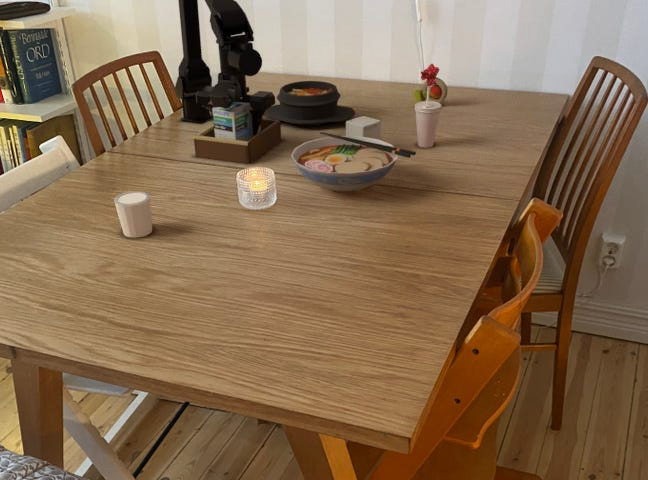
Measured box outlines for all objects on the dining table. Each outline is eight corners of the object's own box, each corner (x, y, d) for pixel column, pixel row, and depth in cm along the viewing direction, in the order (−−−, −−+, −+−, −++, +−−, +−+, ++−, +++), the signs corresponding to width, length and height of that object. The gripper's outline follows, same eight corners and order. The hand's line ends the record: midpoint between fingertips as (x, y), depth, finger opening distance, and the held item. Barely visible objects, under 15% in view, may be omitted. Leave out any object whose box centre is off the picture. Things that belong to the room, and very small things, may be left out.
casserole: (360, 111, 203) (361, 80, 199) (348, 133, 189) (348, 99, 184) (273, 107, 209) (272, 77, 204) (255, 128, 194) (252, 96, 189)
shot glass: (125, 242, 141) (119, 207, 137) (116, 228, 146) (109, 195, 142) (160, 233, 143) (154, 200, 139) (149, 221, 148) (143, 188, 144)
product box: (362, 157, 174) (363, 126, 170) (344, 151, 178) (344, 120, 174) (380, 150, 177) (381, 120, 173) (362, 144, 181) (363, 115, 177)
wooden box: (195, 156, 178) (193, 136, 175) (230, 134, 191) (228, 114, 188) (249, 163, 173) (247, 142, 170) (281, 140, 186) (280, 120, 183)
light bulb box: (237, 157, 177) (233, 111, 171) (215, 152, 180) (210, 108, 174) (262, 143, 184) (260, 99, 178) (241, 139, 187) (237, 96, 181)
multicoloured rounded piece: (440, 110, 209) (413, 94, 210) (459, 74, 202) (430, 58, 202) (434, 116, 204) (406, 100, 205) (453, 80, 197) (424, 63, 198)
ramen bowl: (267, 188, 161) (265, 151, 156) (335, 159, 174) (335, 124, 169) (355, 218, 146) (356, 179, 142) (422, 184, 160) (425, 147, 155)
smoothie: (409, 147, 179) (412, 88, 170) (416, 139, 183) (419, 81, 175) (435, 150, 176) (439, 90, 168) (441, 142, 181) (446, 83, 173)
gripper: (180, 72, 168) (188, 139, 177) (252, 79, 162) (257, 148, 171) (204, 60, 177) (211, 125, 186) (274, 66, 170) (277, 133, 179)
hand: (238, 133), depth 180 cm, fingers open, 9 cm apart
